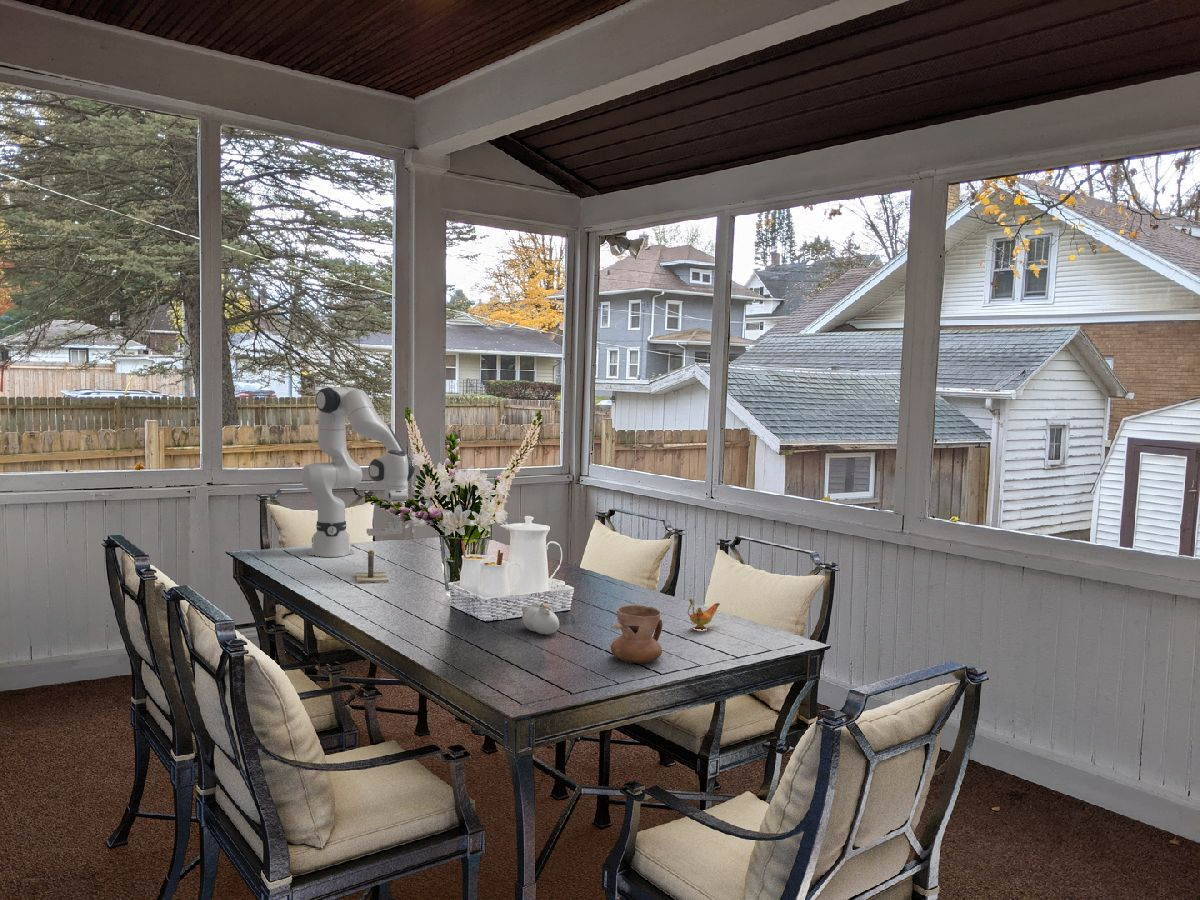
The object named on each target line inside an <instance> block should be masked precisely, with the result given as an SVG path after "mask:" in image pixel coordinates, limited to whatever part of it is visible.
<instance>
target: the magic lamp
mask: <svg viewBox="0 0 1200 900" xmlns="http://www.w3.org/2000/svg"><path fill="white" fill-rule="evenodd" d="M688 601H689V604H690V605H689V607H688V608H687V609H688V610H687V615H688V616H689V620H690V621H691V625H692V626H694V625H696V626H694V627H693V628H695V629H701V630H703V629H706V628H707V627H706V626H705V625H708V624H709V623H710V622H712V619H713V618H714V615H715V614H716V612H717V609H718V608H719V606H720V605H721V603H719V602H717V603H714V604H713V605H711V606H710V607H709V608H708V609H707V610H704V611H703V610H702V608H701V607H700V606H699V607H697V609H696V610H695V600H694V599H692V598H689V599H688ZM691 607H692V613H691V614H689V612H690V609H691Z"/></svg>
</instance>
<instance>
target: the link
mask: <svg viewBox="0 0 1200 900" xmlns="http://www.w3.org/2000/svg"><path fill="white" fill-rule="evenodd" d="M365 532H366V534H367V536H369V537H371V536H374V537H376V536H391V535H395V534H396V535H398V534H403V520H400V524H399V529H395V528H394V521H393V520H392V521H388V528H387V527H383V528H381V527H379V528H375V527H374V528H366V531H365Z"/></svg>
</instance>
